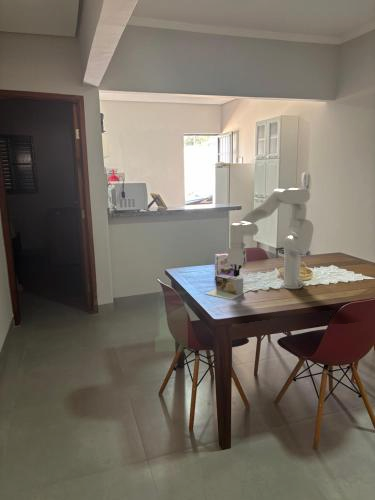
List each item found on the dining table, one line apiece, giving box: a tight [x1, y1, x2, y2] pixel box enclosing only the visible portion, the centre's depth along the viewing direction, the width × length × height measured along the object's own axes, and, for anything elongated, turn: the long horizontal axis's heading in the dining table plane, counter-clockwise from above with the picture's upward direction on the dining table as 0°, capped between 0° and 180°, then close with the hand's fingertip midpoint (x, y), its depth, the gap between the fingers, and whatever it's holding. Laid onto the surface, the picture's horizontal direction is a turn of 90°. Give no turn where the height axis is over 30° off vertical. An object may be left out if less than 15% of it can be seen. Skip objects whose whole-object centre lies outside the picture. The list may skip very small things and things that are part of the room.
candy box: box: [214, 253, 236, 279], centre depth 250 cm, size 14×6×16 cm, turn 101°
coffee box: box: [215, 274, 244, 295], centre depth 222 cm, size 9×6×16 cm
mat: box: [205, 288, 247, 301], centre depth 221 cm, size 18×18×1 cm
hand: (236, 275), depth 216 cm, fingers closed
